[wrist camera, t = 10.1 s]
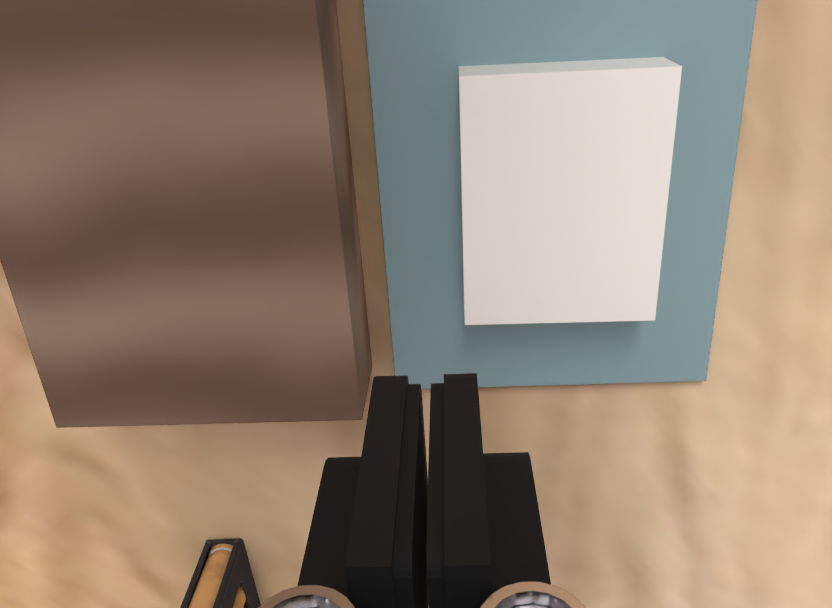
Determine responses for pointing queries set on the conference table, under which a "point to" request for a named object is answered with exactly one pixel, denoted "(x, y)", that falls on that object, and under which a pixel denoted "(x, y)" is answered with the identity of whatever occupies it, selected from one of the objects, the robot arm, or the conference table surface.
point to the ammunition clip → (222, 578)
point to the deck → (182, 210)
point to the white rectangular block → (565, 188)
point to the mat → (441, 180)
